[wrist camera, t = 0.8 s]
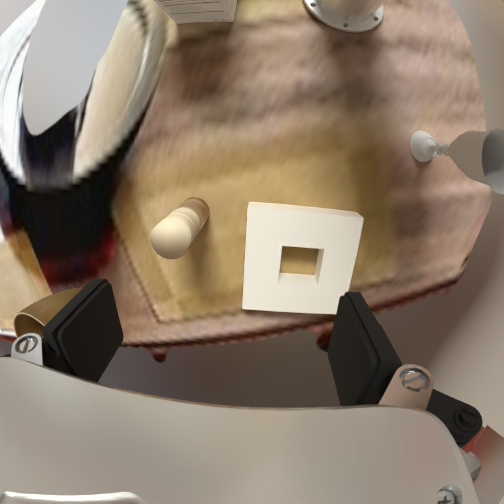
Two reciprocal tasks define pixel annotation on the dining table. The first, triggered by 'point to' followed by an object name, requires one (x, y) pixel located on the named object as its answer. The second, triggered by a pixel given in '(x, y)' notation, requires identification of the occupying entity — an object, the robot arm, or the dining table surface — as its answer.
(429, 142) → the chalice
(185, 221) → the peg
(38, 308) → the plant pot
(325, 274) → the socket
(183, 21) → the supplement box
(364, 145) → the dining table surface
